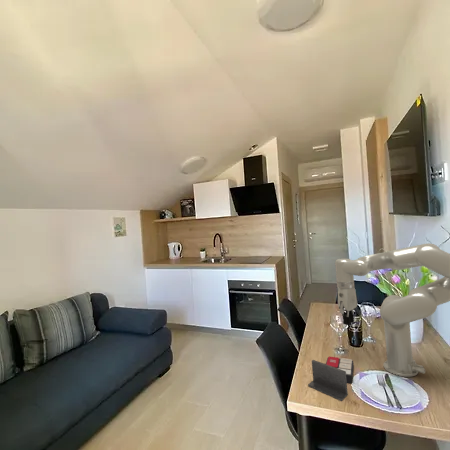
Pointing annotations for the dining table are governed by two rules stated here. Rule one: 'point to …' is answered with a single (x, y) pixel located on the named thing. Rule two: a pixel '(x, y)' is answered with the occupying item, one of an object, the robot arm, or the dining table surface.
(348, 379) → the red and tan block
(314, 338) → the dining table surface
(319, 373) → the bookend
